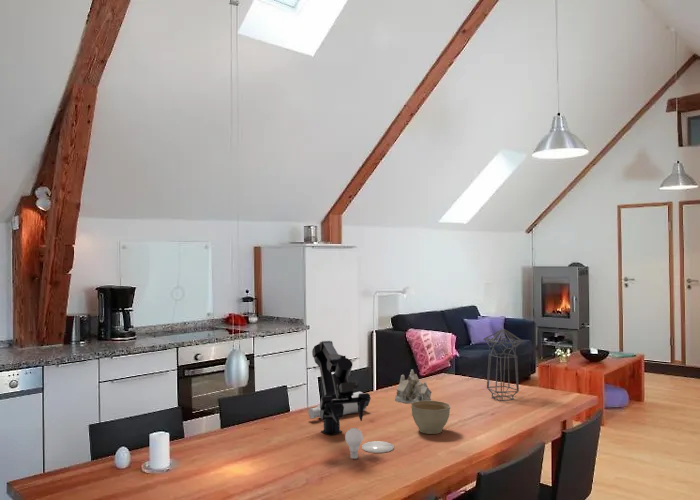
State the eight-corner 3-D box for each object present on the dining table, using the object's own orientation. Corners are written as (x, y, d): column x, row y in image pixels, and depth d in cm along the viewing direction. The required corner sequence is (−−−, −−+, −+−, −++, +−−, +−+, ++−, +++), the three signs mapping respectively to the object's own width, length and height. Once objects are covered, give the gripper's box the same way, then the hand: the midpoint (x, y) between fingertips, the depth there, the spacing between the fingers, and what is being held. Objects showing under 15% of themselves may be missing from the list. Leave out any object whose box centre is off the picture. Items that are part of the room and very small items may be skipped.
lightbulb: (347, 462, 213) (347, 431, 213) (343, 457, 219) (343, 426, 219) (365, 461, 214) (364, 430, 214) (360, 455, 220) (359, 425, 221)
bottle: (355, 400, 289) (303, 413, 270) (361, 386, 285) (309, 398, 266) (365, 414, 283) (313, 428, 264) (372, 400, 279) (319, 413, 260)
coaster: (355, 447, 229) (355, 446, 229) (377, 440, 237) (377, 439, 237) (377, 455, 220) (377, 453, 220) (400, 447, 228) (400, 446, 228)
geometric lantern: (481, 396, 310) (481, 328, 310) (508, 394, 314) (508, 327, 315) (497, 403, 295) (497, 331, 295) (525, 401, 299) (525, 330, 300)
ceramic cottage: (390, 398, 305) (392, 369, 305) (418, 396, 312) (420, 367, 312) (406, 407, 291) (408, 377, 291) (435, 405, 298) (437, 375, 298)
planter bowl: (449, 438, 240) (449, 410, 240) (409, 435, 243) (409, 408, 244) (451, 426, 256) (451, 401, 256) (413, 424, 259) (412, 399, 259)
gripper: (321, 374, 225) (328, 411, 214) (368, 371, 230) (378, 407, 219) (316, 391, 232) (323, 427, 222) (363, 388, 237) (371, 423, 227)
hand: (349, 421), depth 222 cm, fingers open, 9 cm apart
